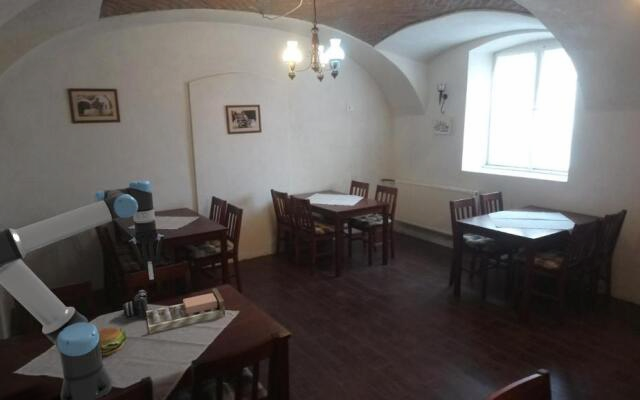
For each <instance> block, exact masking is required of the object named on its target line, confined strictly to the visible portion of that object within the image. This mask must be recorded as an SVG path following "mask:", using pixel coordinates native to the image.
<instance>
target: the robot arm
mask: <svg viewBox="0 0 640 400" xmlns="http://www.w3.org/2000/svg"><path fill="white" fill-rule="evenodd" d="M155 216H156V215H155V208H154V201H153V190H152V185H151V182H150V181H149V180H146V179H145V180H144V179H141V180H134V181H133V180H132V181H130V182H129V185H128V187H125V188H115V189H108V190H105V189H104V190H101V191H97V192H96V193H95V194H94V202H93V203H90V204H88V205H85V206H81V207H78V208H75V209H72V210H69V211H67V212H63V213H61V214H57V215H54V216H52V217H48V218H46V219H43V220H40V221H37V222H35V223H31V224H27V225H26V226H23V227H20V228H17V229H14V228H10V227H9V228H6V229H2V228H0V285H1V286H2V287H3V288H4V289H5V290H6V291H7V292H8V293H9V294H10V295H11V296H12V297H13V298H14V299H15V300H16V301H18V303H20V305H21V306H23V307H24V308H25V310H27V312H29V314H31V315H32V316H33V317H34V318H35V319H36V320H37V321H38V322H39V323H40V324H41V325H42V331H41V332H42V334H44V335H45V336H46V337H47V338H48V339H49V340H50V341H51V342H52V343H53V344H54V345H55V346H56V350H57V353H58V355H59V358H60V363H61V370H62V374H63V375H62V376H63V381H62V385H61V386H62V387H61V392H60V400H95V399H97V398H99V397H102V396H104V395H106V396H107V395H108V394H109V393H110V392H111V391H112V387H113V384H112V383H113V382H112V377H110V375H109V373H108V371H107V370H106V368H105V367H104V362H103V357H102V355H101V349H100V342H99V333H98V331H99V330H98V328H97V326H96V325H95V324H93V323H91V322H89V320H88V319H87V317H85V316H84V315H82V314H81V313H80V312H78V310H76V308H75V307H74V306H66V305H65V304H64V303H63V302H62V301H61V300H60V299H59V298H58V296H56V295H55V294H54V293H53V292H52V291H51V290H50V288H49V287H48V286H46V284H45V283H44V282H43V281H42V280H41V279H40V278H39V277H38V276H37V275H36V273H34V272H33V271H32V269H30V268H29V266H28V265H26V263H25V262H24V261H23V260H22V259H24V258H25V257H26V255H27V253H30V252H32V251H36V250H38V249H41V248H42V247H43V248H44V247H45V246H49V245H51V244H53V243H56V242H59V241H62V240H64V239H66V238H70V237H72V236H75V235H78V234H80V233H83V232H85V231H88V230H91V229H93V228H97V227H99V226H102V225H104V224H107V223H110V222H112V221H114V220H119V219H121V218H123V219H129V218H131V217H133V218H132V219H133V221H134V223H133V225H134V232H135V233H134V237H133V238H131V239H129V240H128V243H129V245H130V246H131V247H132V249H133V251H134V253H135V256H136V257H137V260H138V263H139V264H143V265H144V271H145V272H146V273H147V272H148V277H149V280H155V278H154V271H156V269H157V268H156V262H158V261H160V258H161V252H162V246H163V241H164V240H165V236H164V234H159V233H158V231H157V225H156V220H155V218H156V217H155ZM156 239H157V240H158V241H157V246H156V253H155V251H154V243H155V241H156ZM137 242H138V243H139V244H141V247H142V255H143V258H142V256H141V253H140V251H139V248H138V246H137ZM147 245H148V246H149V254H150V255H149V256H150V261H148V260H149V259H148V253H147ZM155 254H156V255H155Z"/></svg>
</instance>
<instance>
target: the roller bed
mask: <svg viewBox="0 0 640 400" xmlns="http://www.w3.org/2000/svg"><path fill="white" fill-rule="evenodd" d="M211 291H212V292H211V293H213V294H214V296H215V298H216V300H217V305H218V308H214V309H209V310H205V311H200V312H196V313H191V314H187V313H186V310H185V308H184V303H179V304H175V305H169V306H164V307H160V308H156V309H150V310H148V311H146V313H147V324H148V325H147V326H148V331H149V333H148V334H149V335H150V334H155V333H159V332H162V331H166V330H172V329H176V328H179V327H184V326H189V325H192V324H196V323H200V322H201V323H202V322H205V321H209V320H214V319H217V318H222V317H226V309H225V308H226V307H225V300H224V298H223V297H222V295H221V293H220V291H219V290H218V289H217V288H215V287H214V288H212V289H211Z"/></svg>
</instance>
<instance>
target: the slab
mask: <svg viewBox="0 0 640 400" xmlns="http://www.w3.org/2000/svg"><path fill="white" fill-rule="evenodd" d="M182 302H183V303H184V308H185V310H186V313H187V314H191V313H196V312H200V311H205V310H209V309H214V308H218V305H217V300H216V298H215V296H214V294H213V292H210V293H207V294H206V293H205V294H200V295H196V296H192V297H191V296H190V297H187V298H183V300H182ZM183 303H182V304H183Z"/></svg>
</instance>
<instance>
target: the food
mask: <svg viewBox="0 0 640 400" xmlns="http://www.w3.org/2000/svg"><path fill="white" fill-rule="evenodd" d="M97 331H98V333H99V342H100V349H101V355H102V356H108V355H111V354H115V353H116V352H118V351H120V350H121V349H122V348H123V346H124V344H125V341H126V340H127V336H126V332H125V331H123V330H122V328H120V329H119V328H116V327H112V326H111V327H105V328H104V327H103V328H101V329H100V330H99V329H98V330H97Z"/></svg>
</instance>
